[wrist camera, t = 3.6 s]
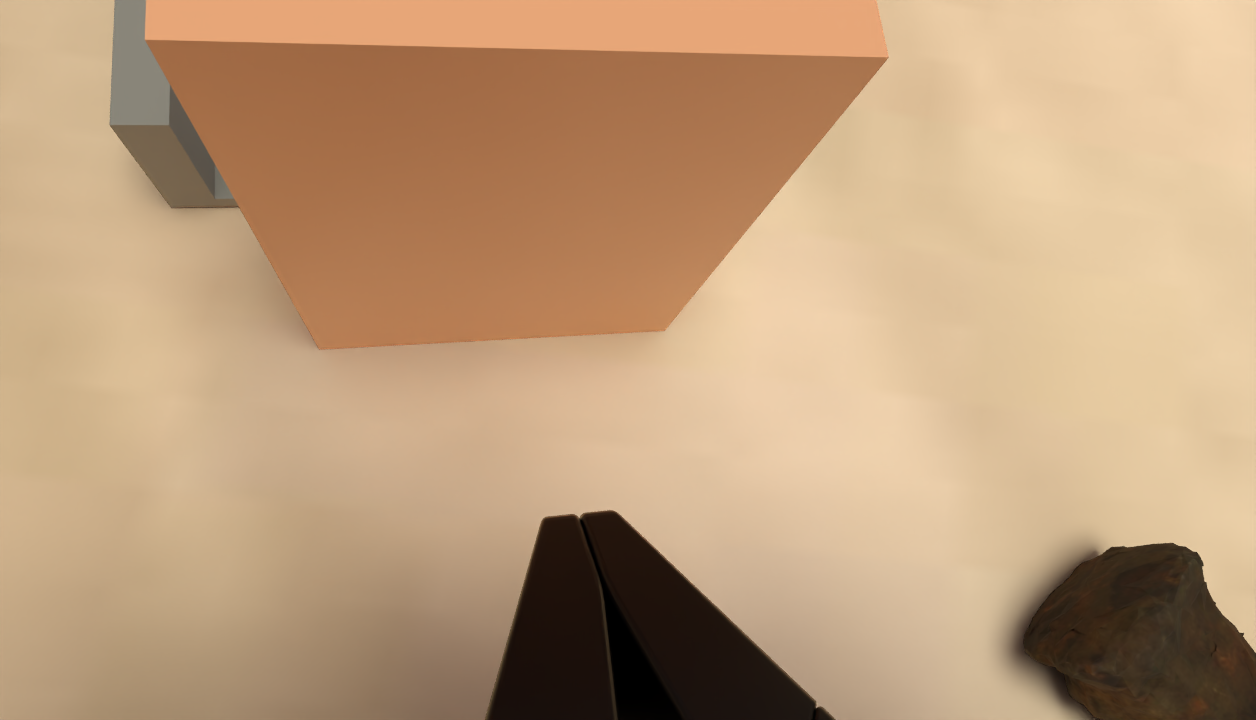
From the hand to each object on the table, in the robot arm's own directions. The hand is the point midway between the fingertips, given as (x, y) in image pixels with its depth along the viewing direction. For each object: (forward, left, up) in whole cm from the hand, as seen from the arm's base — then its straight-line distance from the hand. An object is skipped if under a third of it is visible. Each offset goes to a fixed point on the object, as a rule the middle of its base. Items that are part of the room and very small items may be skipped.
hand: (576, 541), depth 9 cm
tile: (+6, +4, -9) cm, 11 cm away
